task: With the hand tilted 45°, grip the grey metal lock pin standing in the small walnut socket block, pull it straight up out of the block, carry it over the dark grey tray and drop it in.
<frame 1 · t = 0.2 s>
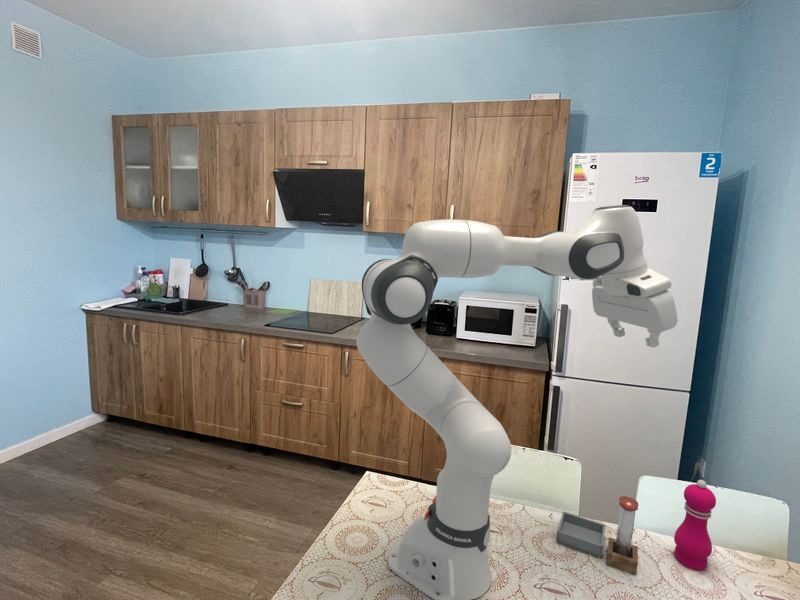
hand: (635, 340, 92), 51 cm above the table, tool tilted 20°, fingers open, 8 cm apart
socket block: (621, 561, 97), on the table
pin: (624, 531, 96), in the socket block
pepper mill: (690, 561, 99), on the table
tray: (580, 539, 104), on the table
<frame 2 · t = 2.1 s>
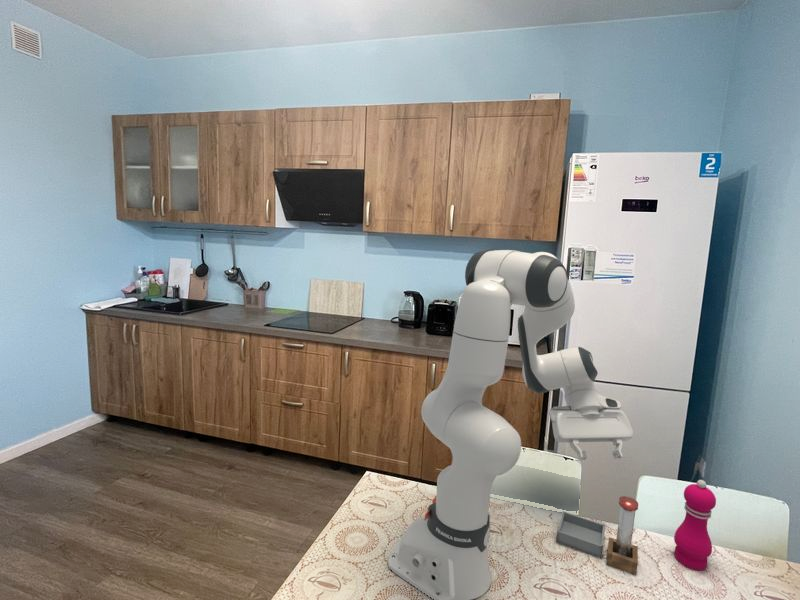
hand: (600, 458, 107), 18 cm above the table, tool tilted 45°, fingers open, 8 cm apart
nothing on the table moved.
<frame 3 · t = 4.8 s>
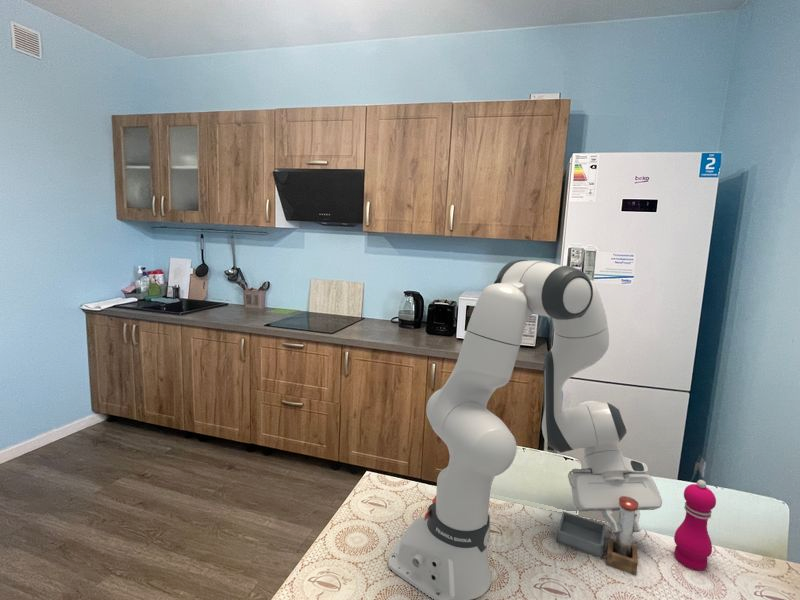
hand: (626, 532, 96), 8 cm above the table, tool tilted 45°, fingers closed on pin, 3 cm apart
pin: (624, 531, 96), in the socket block, touching gripper
everything else where it was.
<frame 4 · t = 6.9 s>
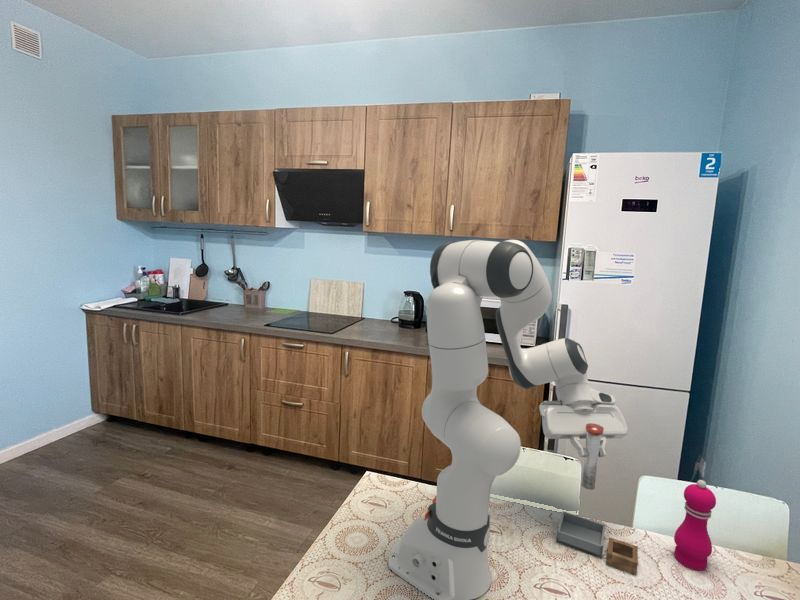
hand: (593, 456, 100), 22 cm above the table, tool tilted 45°, fingers closed on pin, 3 cm apart
pin: (591, 456, 101), point 22 cm above the table, touching gripper
everything else where it was.
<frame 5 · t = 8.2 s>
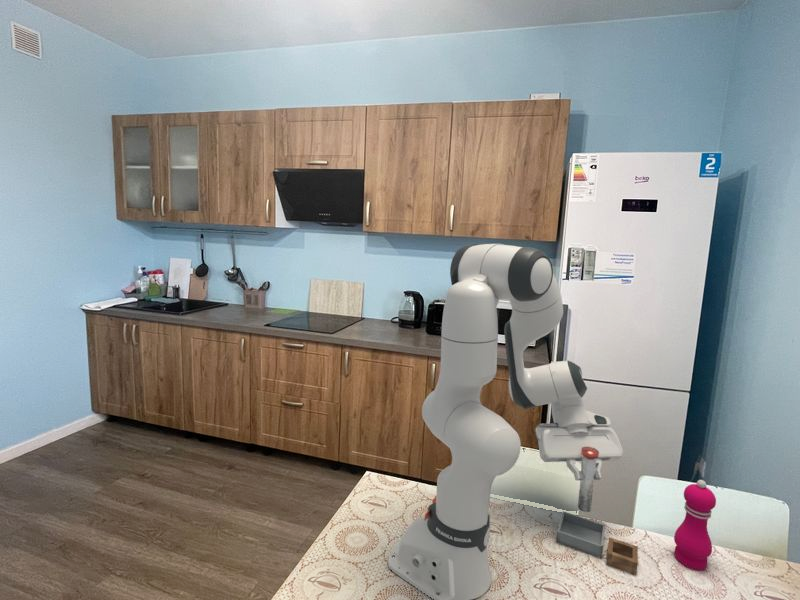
hand: (588, 479, 101), 16 cm above the table, tool tilted 45°, fingers closed on pin, 3 cm apart
pin: (587, 479, 102), point 16 cm above the table, touching gripper
everything else where it was.
when the fingers open (11 cm above the table, at t = 9.4 s): pin drops 2 cm, resting on tray.
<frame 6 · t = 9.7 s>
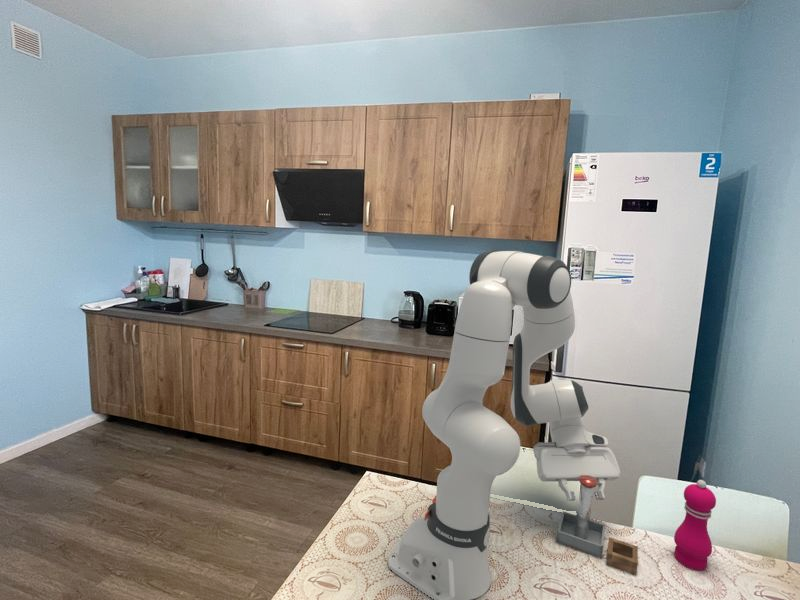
hand: (586, 500, 102), 11 cm above the table, tool tilted 45°, fingers open, 6 cm apart
pin: (584, 507, 103), in the tray, point 8 cm above the table
everything else where it was.
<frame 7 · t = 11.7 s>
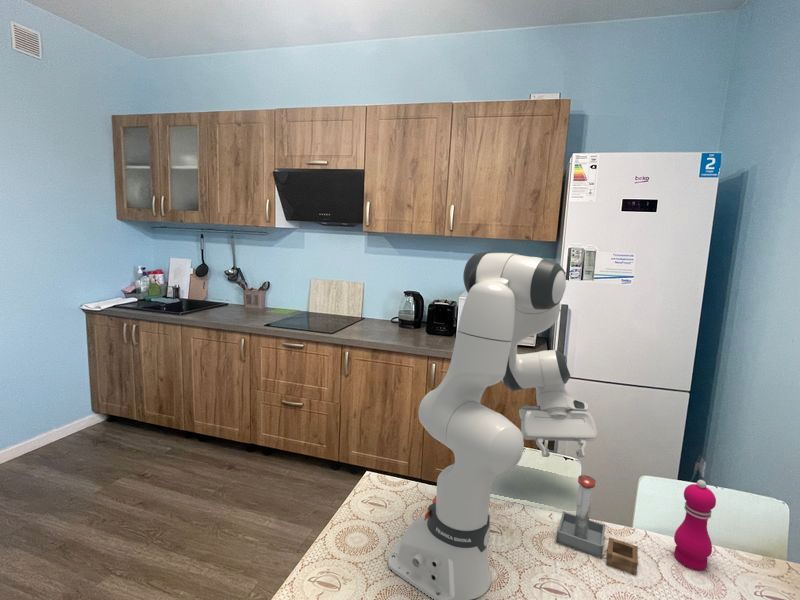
hand: (563, 456, 114), 15 cm above the table, tool tilted 40°, fingers open, 8 cm apart
nothing on the table moved.
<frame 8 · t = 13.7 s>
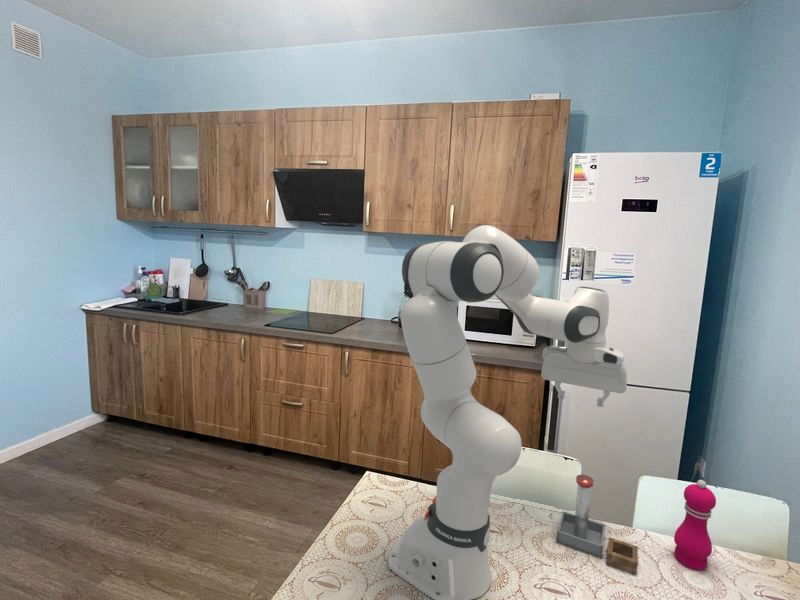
hand: (580, 401, 110), 31 cm above the table, tool pointing down, fingers open, 8 cm apart
nothing on the table moved.
at the end: pin inside the target area on the tray (0.1 cm from its centre), point 8.3 cm above the tray's base; the gripper is holding nothing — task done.
